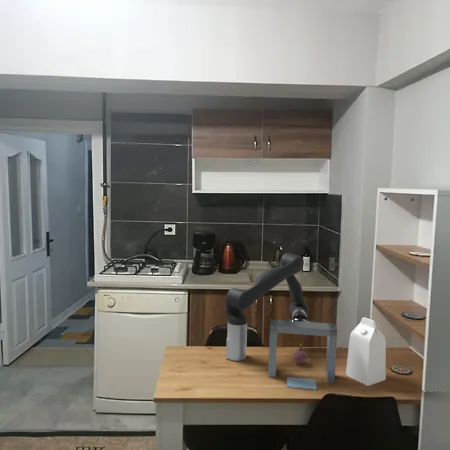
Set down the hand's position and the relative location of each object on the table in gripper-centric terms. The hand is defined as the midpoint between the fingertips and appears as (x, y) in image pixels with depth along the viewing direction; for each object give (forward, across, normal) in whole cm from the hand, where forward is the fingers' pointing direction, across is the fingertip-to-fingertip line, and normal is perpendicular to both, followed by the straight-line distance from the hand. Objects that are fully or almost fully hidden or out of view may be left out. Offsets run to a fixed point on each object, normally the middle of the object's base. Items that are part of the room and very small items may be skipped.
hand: (300, 328), depth 208 cm
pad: (+33, 0, +12) cm, 35 cm away
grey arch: (+25, 0, +12) cm, 28 cm away
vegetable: (+13, 0, +12) cm, 18 cm away
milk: (+21, +28, +13) cm, 37 cm away
